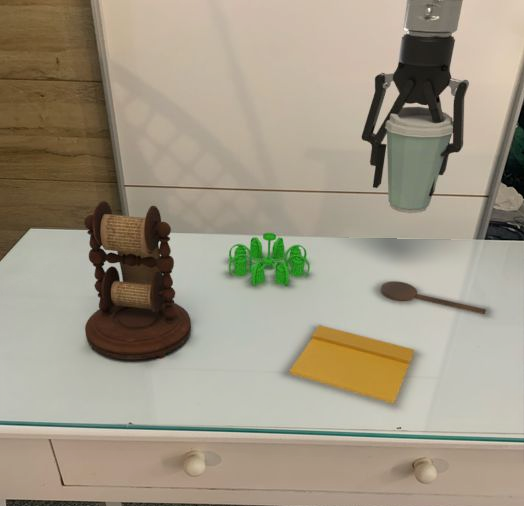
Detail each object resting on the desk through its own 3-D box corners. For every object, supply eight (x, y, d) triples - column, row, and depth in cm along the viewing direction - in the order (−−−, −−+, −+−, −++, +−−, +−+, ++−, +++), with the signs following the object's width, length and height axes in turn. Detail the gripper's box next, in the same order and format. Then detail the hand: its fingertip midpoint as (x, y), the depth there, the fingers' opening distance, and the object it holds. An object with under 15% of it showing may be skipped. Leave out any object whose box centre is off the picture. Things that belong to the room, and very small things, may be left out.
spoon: (486, 307, 91) (488, 300, 90) (482, 324, 87) (484, 318, 86) (384, 284, 97) (385, 278, 96) (375, 299, 92) (376, 293, 91)
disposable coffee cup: (452, 213, 92) (473, 117, 83) (397, 222, 88) (413, 122, 80) (414, 193, 100) (429, 103, 91) (362, 200, 96) (374, 108, 88)
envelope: (412, 357, 79) (414, 347, 78) (392, 407, 70) (395, 396, 68) (319, 333, 83) (320, 323, 82) (289, 377, 74) (290, 366, 73)
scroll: (202, 317, 86) (197, 190, 74) (174, 374, 74) (163, 233, 62) (111, 307, 88) (93, 181, 76) (69, 360, 76) (40, 221, 64)
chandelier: (295, 299, 91) (298, 260, 87) (212, 281, 95) (211, 244, 91) (319, 262, 103) (323, 227, 99) (244, 248, 107) (245, 213, 103)
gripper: (350, 31, 80) (336, 186, 93) (504, 40, 73) (465, 206, 86) (364, 27, 86) (349, 174, 99) (508, 36, 79) (471, 192, 92)
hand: (403, 189), depth 93 cm, fingers open, 8 cm apart
